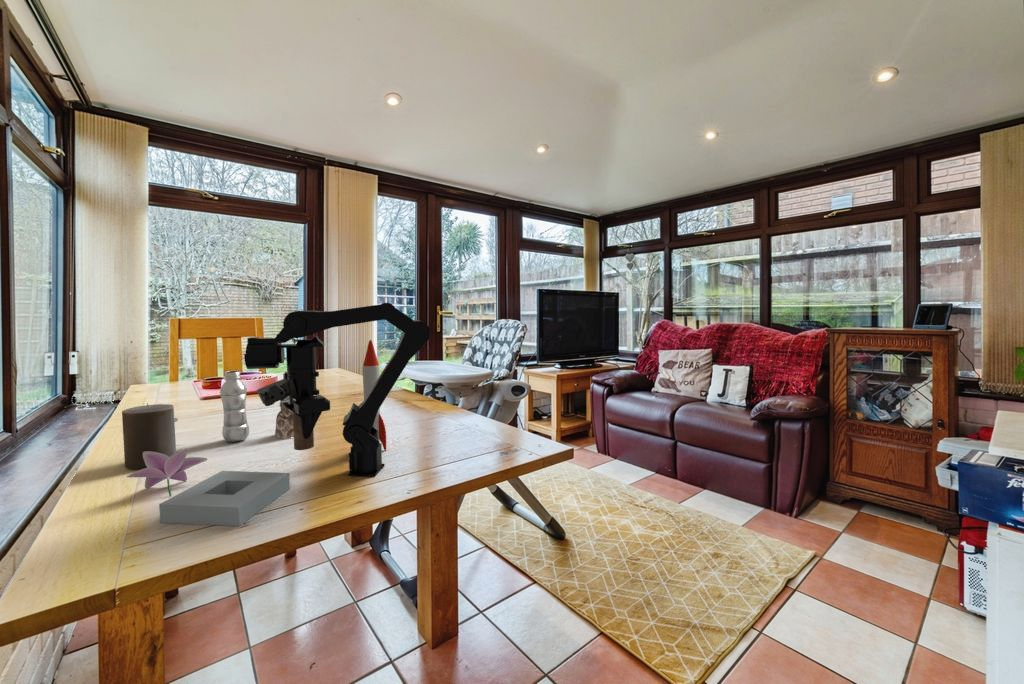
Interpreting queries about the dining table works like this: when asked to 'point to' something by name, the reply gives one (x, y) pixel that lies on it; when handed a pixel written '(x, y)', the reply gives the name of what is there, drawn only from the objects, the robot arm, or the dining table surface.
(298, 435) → the walnut peg
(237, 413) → the plastic bottle
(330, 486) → the dining table surface
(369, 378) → the toy rocket
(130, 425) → the pillar candle
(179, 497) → the socket block
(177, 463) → the lily
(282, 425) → the figurine
